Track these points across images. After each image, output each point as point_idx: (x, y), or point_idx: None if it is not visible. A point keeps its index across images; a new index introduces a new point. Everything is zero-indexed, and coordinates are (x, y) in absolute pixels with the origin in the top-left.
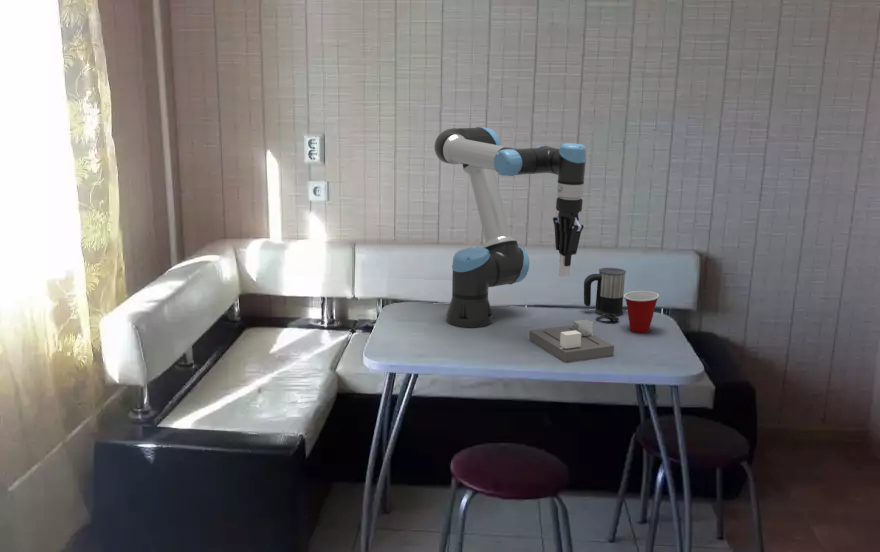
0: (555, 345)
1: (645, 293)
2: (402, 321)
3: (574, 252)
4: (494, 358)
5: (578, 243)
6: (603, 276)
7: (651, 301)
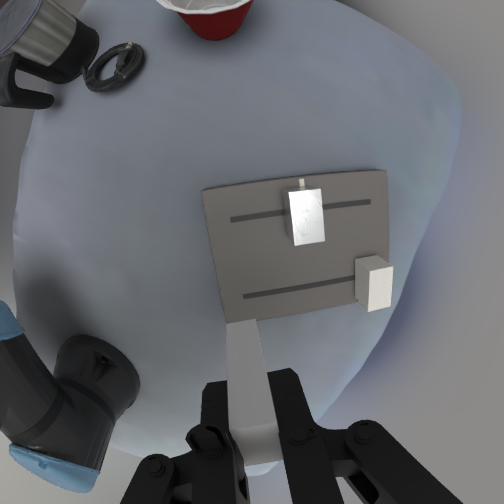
0: (344, 302)
1: None
2: (115, 438)
3: (379, 441)
4: (312, 387)
5: (446, 488)
6: (18, 46)
7: None
